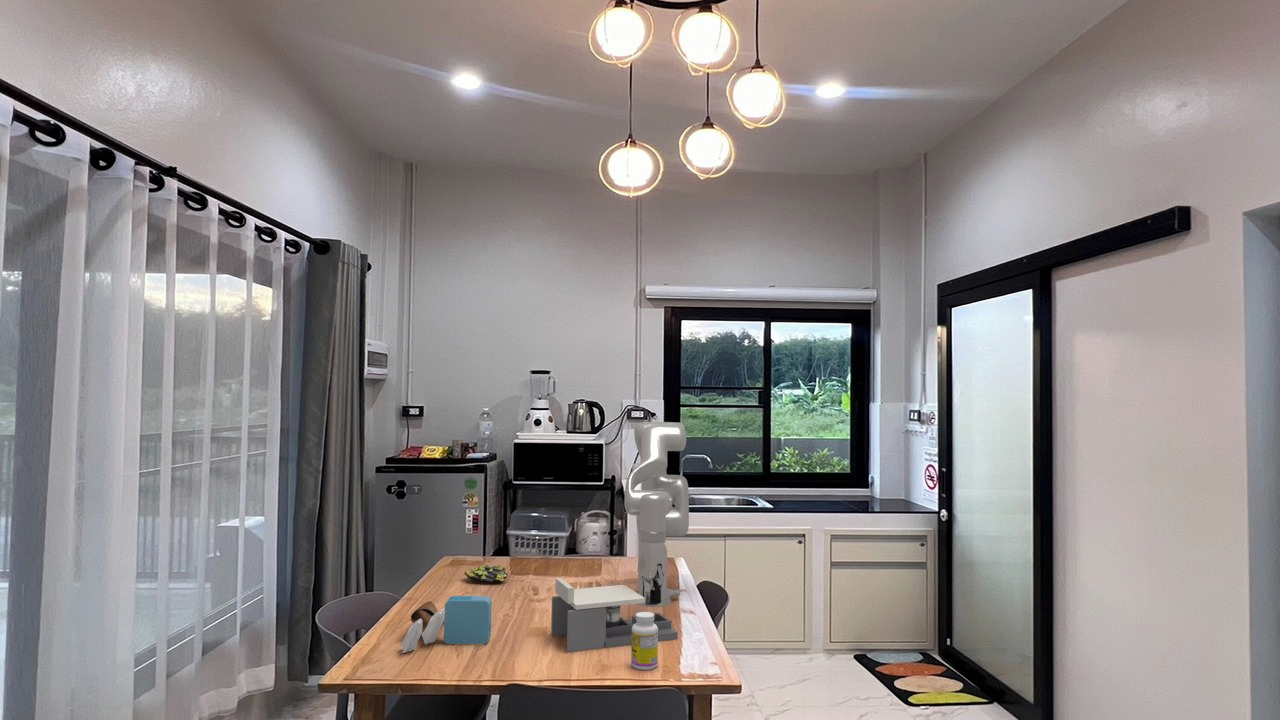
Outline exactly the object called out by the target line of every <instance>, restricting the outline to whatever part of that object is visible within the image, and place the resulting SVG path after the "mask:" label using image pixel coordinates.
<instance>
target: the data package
mask: <svg viewBox="0 0 1280 720" xmlns="http://www.w3.org/2000/svg"><path fill="white" fill-rule="evenodd" d="M492 602H493V601H492V599H491V597H489V596H487V595H485V596H484V595H483V596H482V595H453V596H450V597H449V598H448V600H447V601H446V602H445V604H444V616H443V621H444V624H443V641H444V643H445V644H446V645H447V644H476V645H475V646H478V645H477V644H485V645H487V644H488V642H489V641H490V638H491V636H492V605H493V604H492Z"/></svg>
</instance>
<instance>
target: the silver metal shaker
mask: <svg viewBox="0 0 1280 720" xmlns="http://www.w3.org/2000/svg"><path fill="white" fill-rule="evenodd" d="M654 578H658V577H657V576H655V577H654ZM656 581H657V580H655V581H654V584H655V582H656ZM650 590H652V589H651V580H649V579H647V578H645V579H644V598H645V603H644V604H646V605H659V604H650Z"/></svg>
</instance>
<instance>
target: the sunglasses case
mask: <svg viewBox="0 0 1280 720" xmlns="http://www.w3.org/2000/svg"><path fill="white" fill-rule="evenodd" d="M438 611H439V610H438V608H437V607H436V605H435V603H434V602H432V601H427V602H425V603H423V604H422V605H420V606H419V607H418V608H416V609H415V610H414V612H413V613H412V614H411V615H410V621H411V622H412V624H414V623H415V622H416V621H417V620H419V619H422V621H423V626H422V631H425V629H426V627H427V625H428V623H429V621H430V619H431V617H432V616H433V615H434V614H435V613H436V612H438ZM442 626H444V620H443V624H442Z"/></svg>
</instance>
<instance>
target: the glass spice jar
mask: <svg viewBox="0 0 1280 720" xmlns="http://www.w3.org/2000/svg"><path fill="white" fill-rule="evenodd" d="M621 607H622V605H618V606H608V607H606V628H607V627H616V626H620V617H621V609H622V608H621Z"/></svg>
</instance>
